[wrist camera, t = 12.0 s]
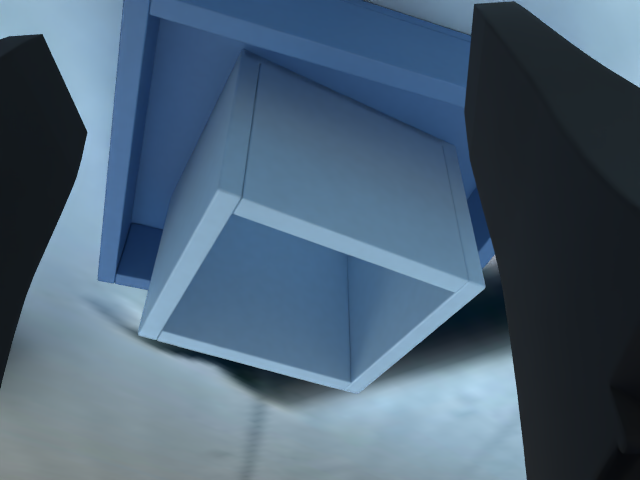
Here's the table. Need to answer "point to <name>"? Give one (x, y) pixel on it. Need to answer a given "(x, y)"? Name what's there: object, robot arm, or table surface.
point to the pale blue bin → (311, 234)
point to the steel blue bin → (277, 47)
